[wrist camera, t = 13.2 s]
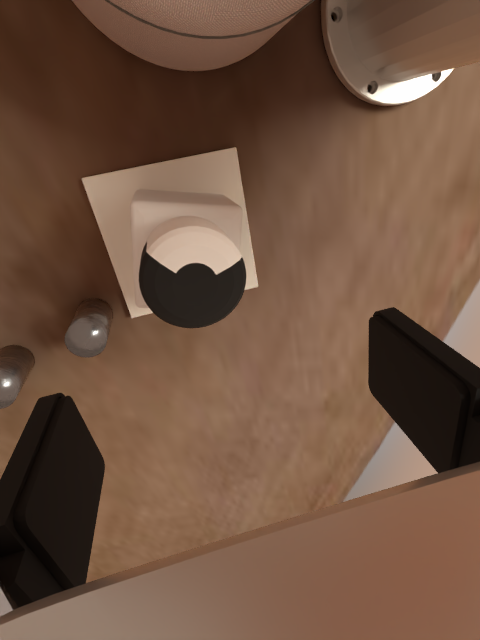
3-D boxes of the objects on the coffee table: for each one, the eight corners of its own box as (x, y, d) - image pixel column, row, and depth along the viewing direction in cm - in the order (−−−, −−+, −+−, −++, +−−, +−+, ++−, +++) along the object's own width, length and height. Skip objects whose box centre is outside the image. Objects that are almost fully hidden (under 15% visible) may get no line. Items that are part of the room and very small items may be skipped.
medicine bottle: (220, 276, 32) (252, 340, 22) (139, 276, 30) (130, 344, 20) (225, 193, 29) (265, 220, 19) (135, 188, 27) (122, 215, 17)
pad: (234, 147, 28) (236, 147, 28) (256, 284, 34) (258, 286, 33) (82, 177, 27) (81, 178, 26) (132, 315, 32) (131, 318, 32)
